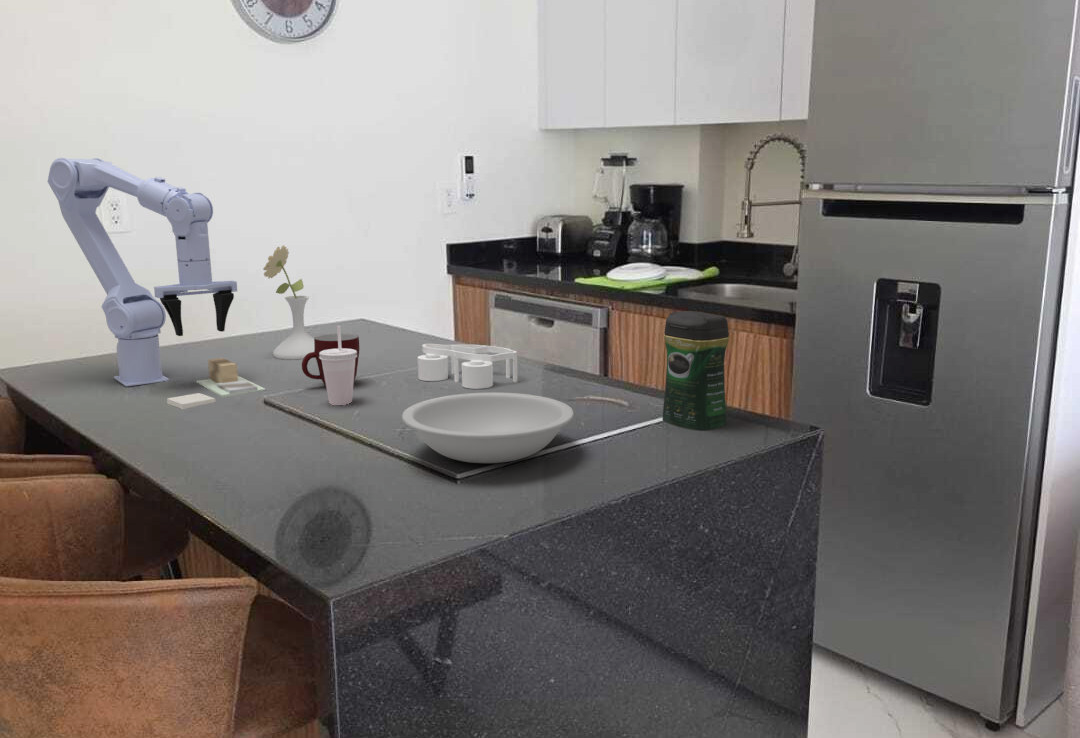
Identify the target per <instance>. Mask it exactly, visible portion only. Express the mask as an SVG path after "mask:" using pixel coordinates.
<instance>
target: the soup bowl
mask: <svg viewBox="0 0 1080 738" xmlns="http://www.w3.org/2000/svg"><path fill="white" fill-rule="evenodd" d="M574 413H575V412H574V410H573V408H572V407H571V406H569V405H568V404H567V403H564V402H562V401H560V400H557V399H554V398H550V397H547V396H540V395H535V394H534V395H533V394H528V393H517V392H472V393H471V392H470V393H469V392H468V393H459V394H450V395H445V396H439V397H434V398H430V399H429V398H428V399H427V400H423V401H420V402H417V403H415V404H412V405H411V406H409V407H408V408H406V409H405V410H404V411H403V413H402V415H401V418H402V421H403V423H404V424H405V425H407V426H408V427H409V428H411V429H413V430H415V431H416V433H417V434H418V436H419V437H420V439H421V440H422V441H423V442H424V443H425V444H426V445H427V446H429V448H430V449H432V450H433V451H435V452H436V453H438V454H440V455H441V456H444V457H445V458H448V459H452V460H454V461H455V460H456V461H460V462H465V463H471V464H500V463H509V462H514V461H517V460H518V461H519V460H521V459H525V458H527V457H530V456H532V455H534V454H537V453H538V452H539V451H541V450H544V448H545V447H547V446H548V445H549V444H550V443H551V442H552V441H553V439H554V438H555V437H556V436H557V434H558V433H559V431H560V430H561V428H562V427H563V426H565V425H567V424H569V423H570V422H571V421H572V420H573V418H574V415H575V414H574Z"/></svg>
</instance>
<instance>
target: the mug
mask: <svg viewBox="0 0 1080 738" xmlns="http://www.w3.org/2000/svg"><path fill="white" fill-rule="evenodd" d="M313 338H314V352H311V353H308V354H307V355H306V356H305V357H304V359H302V362H301V370H302V372H303V374H304V375H305V376H306V377H308V378H310V379H312V380H321V381H322V383H323V384H324V386H325V387H326V382H325V377H324V371H323V366H322V360H321V359H319V357H320V355H319V353H320V352H321V351H323V350H328V349H338V333H329V334H327V333H326V334H322V335H321V334H320V335H317V336H315V337H313ZM341 346H342V348H346V349H354V350H356V351H357V357H356V358H355V370H354V381H355V380H356V377H357V373H358V372H357V371H358V364H359V357H360V337H359V335H357V334H352V333H341ZM311 359H316V364H317V367H318V371H319V372H318V373H319V374H312V373H311V372H310V371H309V369H308V364H309V362H310V360H311Z"/></svg>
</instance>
